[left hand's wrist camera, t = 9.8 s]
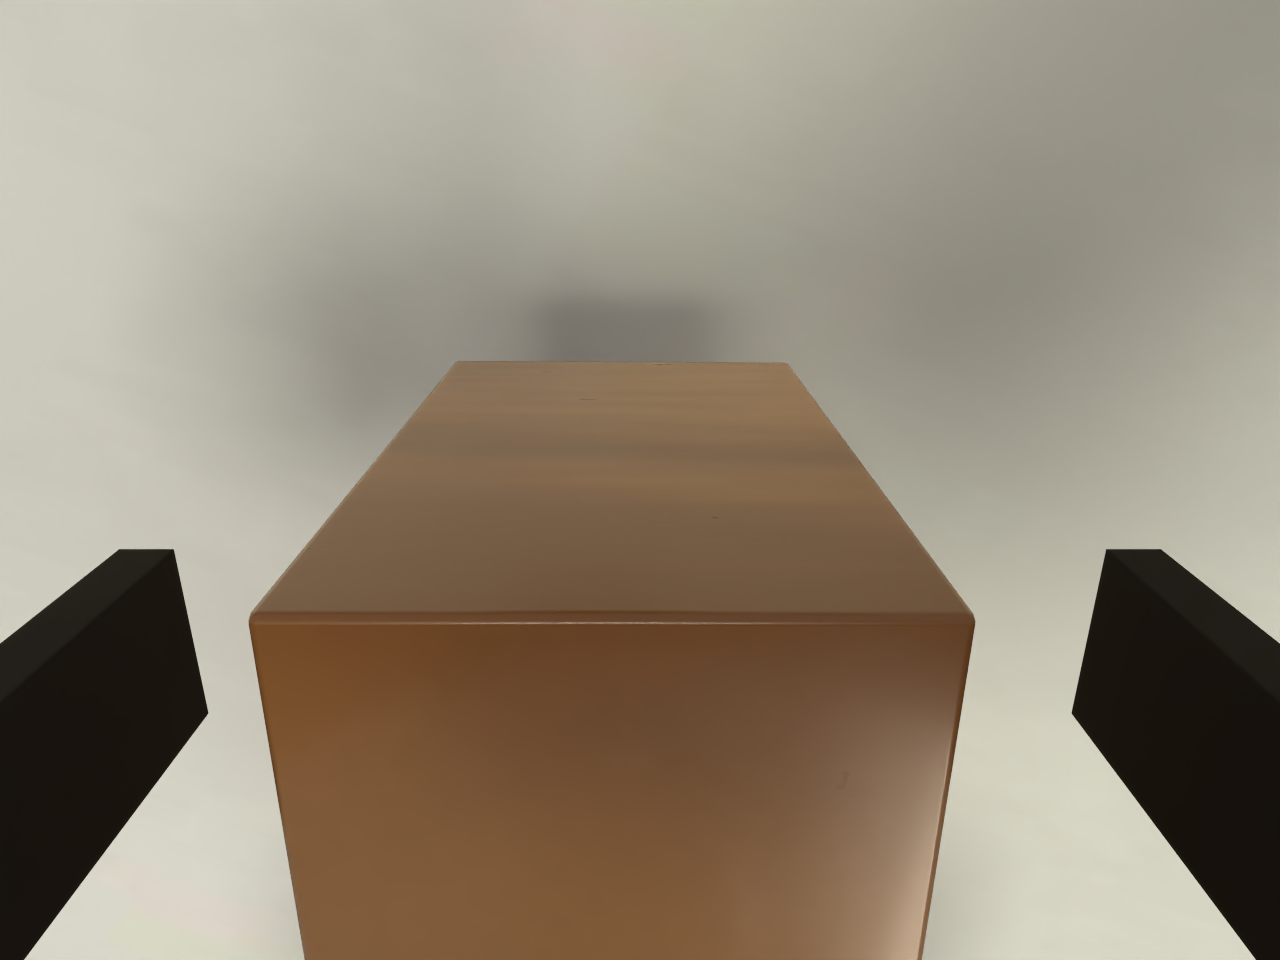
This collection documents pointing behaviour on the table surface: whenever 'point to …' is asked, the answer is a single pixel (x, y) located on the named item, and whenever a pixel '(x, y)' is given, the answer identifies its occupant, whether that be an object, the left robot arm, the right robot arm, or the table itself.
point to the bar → (613, 681)
